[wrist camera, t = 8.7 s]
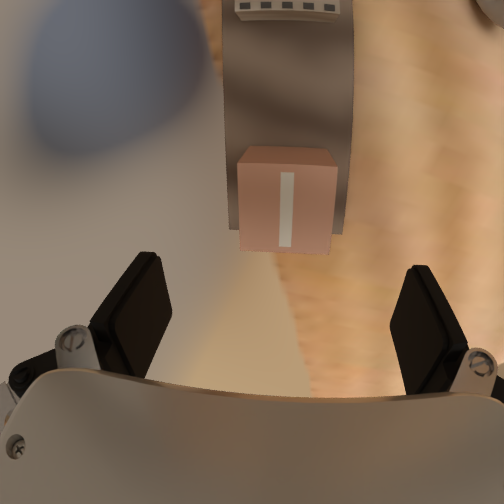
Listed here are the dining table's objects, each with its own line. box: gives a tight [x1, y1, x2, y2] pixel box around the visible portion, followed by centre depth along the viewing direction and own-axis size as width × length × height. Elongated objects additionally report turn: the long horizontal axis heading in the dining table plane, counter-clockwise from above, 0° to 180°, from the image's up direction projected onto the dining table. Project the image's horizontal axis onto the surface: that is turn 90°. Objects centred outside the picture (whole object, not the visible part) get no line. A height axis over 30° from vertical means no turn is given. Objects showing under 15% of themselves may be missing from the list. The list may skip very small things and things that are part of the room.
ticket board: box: [222, 0, 354, 234], centre depth 16 cm, size 36×10×4 cm, turn 1°
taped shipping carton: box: [237, 146, 338, 255], centre depth 21 cm, size 6×6×6 cm
